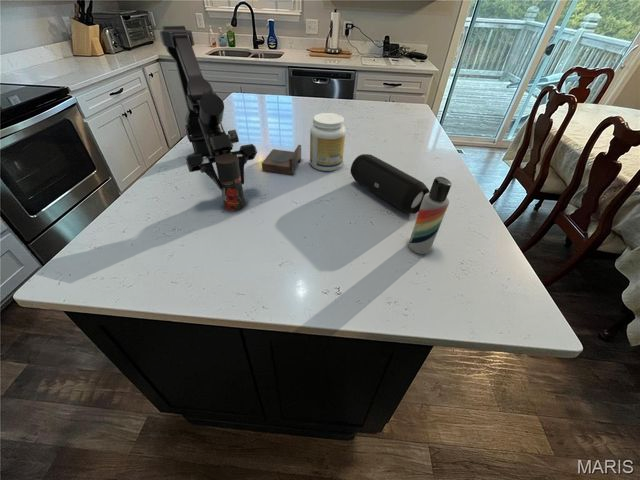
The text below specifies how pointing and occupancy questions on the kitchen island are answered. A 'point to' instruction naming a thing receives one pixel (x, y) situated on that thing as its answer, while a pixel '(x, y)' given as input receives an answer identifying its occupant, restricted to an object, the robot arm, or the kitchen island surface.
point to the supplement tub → (327, 141)
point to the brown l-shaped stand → (282, 161)
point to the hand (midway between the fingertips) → (232, 186)
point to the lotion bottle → (430, 216)
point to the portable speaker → (389, 183)
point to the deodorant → (230, 181)
